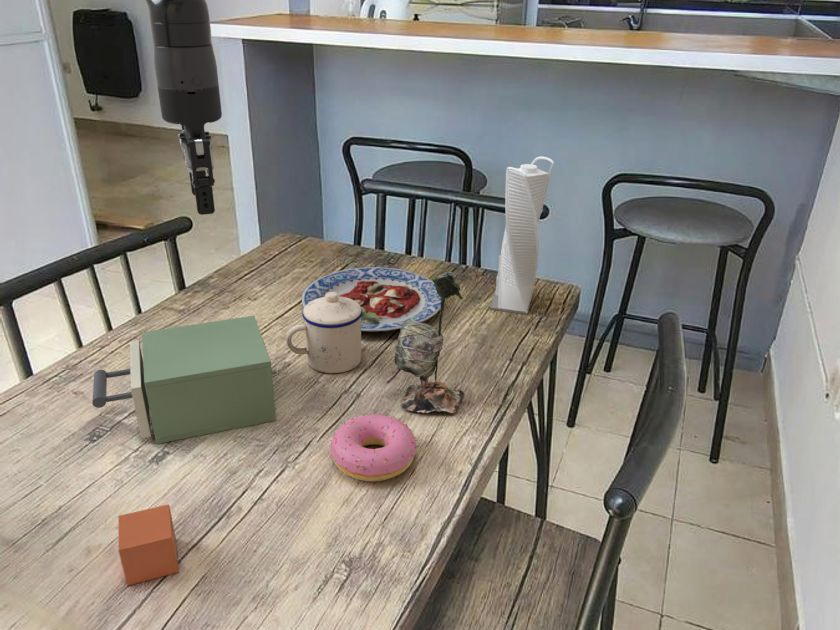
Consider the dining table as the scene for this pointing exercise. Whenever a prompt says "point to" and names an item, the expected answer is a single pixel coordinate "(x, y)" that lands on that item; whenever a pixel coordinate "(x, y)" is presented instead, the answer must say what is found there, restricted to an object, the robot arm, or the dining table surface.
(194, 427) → the cabinet
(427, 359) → the stone figurine
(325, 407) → the dining table surface
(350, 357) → the teacup with lid
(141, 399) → the drawer
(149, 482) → the dining table surface
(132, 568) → the block
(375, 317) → the ceramic plate
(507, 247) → the skyscraper
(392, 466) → the doughnut
